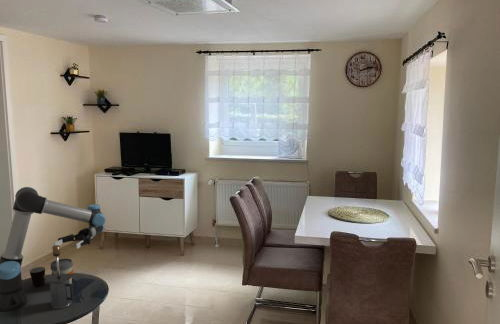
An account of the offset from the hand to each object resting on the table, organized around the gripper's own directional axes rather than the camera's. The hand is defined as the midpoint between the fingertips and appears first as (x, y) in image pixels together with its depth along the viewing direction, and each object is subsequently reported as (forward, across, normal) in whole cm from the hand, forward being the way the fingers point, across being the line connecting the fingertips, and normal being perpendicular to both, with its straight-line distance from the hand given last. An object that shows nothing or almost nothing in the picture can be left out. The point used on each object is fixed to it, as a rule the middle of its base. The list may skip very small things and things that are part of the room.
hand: (65, 246), depth 234 cm
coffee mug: (-15, +30, -32) cm, 46 cm away
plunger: (+7, +1, -19) cm, 21 cm away
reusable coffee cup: (-15, +14, -32) cm, 38 cm away
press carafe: (+7, -1, -32) cm, 32 cm away
